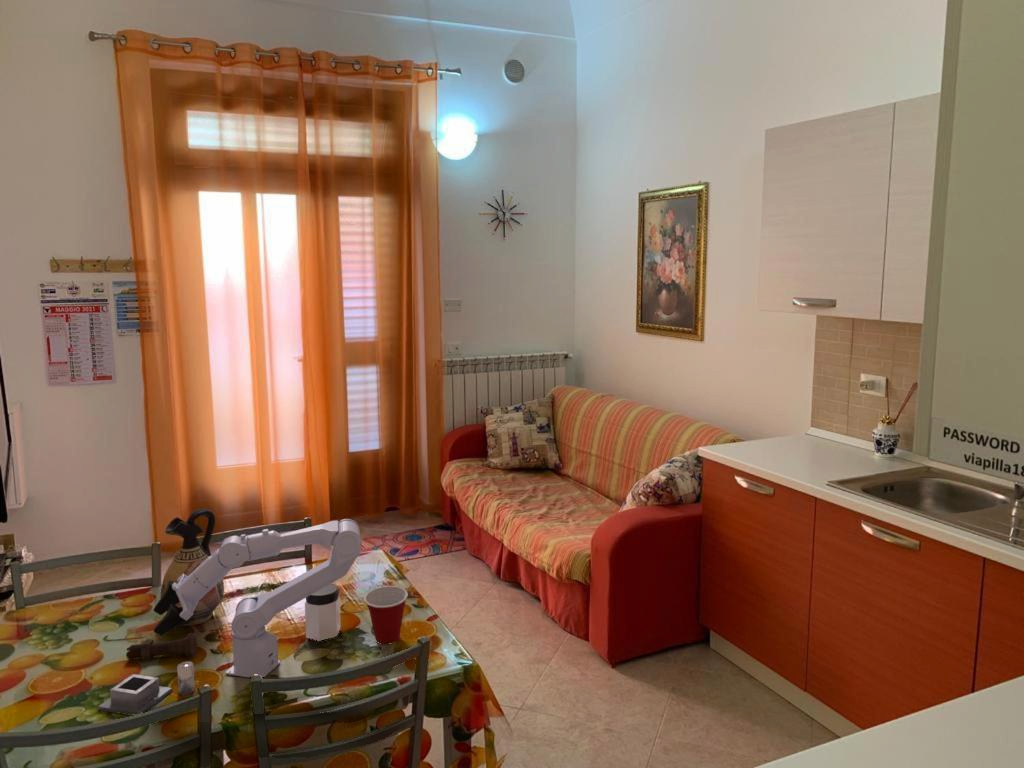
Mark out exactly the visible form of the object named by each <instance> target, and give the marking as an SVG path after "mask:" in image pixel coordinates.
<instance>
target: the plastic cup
mask: <svg viewBox="0 0 1024 768" xmlns="http://www.w3.org/2000/svg"><path fill="white" fill-rule="evenodd" d="M408 596H409V594H408V590H406V589H405V588H404V587H400V586H397V585H385V586H379V587H376V588H373V589H371V590H369V591H368V592H366V594H365V595H364V597H363V599H364V603H365V604H366V605H367V608H368V611H369V615H370V619H371V625H372V630H373V633H374V638H375V641H377V643H378V642H379V643H381V644H380V645H384V644H387V645H390V644H389V643H393V642H395V641H397V640H398V641H399V640H400V636H401V635H400V634H401V629H402V624H403V618H404V617H403V616H404V611H405V607H406V606H405V605H406V602H407V601H406V600H407V598H408ZM398 641H397V642H398ZM379 643H378V644H379ZM395 643H396V642H395ZM393 644H394V643H393Z"/></svg>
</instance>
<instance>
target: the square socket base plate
mask: <svg viewBox="0 0 1024 768" xmlns="http://www.w3.org/2000/svg"><path fill="white" fill-rule="evenodd" d="M172 691H173V689H172V687H168V686H161V685H160V679H159V677H156V676H155V677H153V676H149V675H148V676H147V675H141V674H136V673H135V674H134V673H133V674H131V675H129V676H128V677H126V678H125V679H124V680H122V681H121V682H119V683H118V684H117V685H115V686H113V687H112V688H111V689H110V690H109V693H110V698H108V699H106V700H105V701H104V702H102V703H101V704H99V705H98V706H97V709H98V711H103V712H108V711H109V712H108V713H114V712H120V713H126V714H130V715H129V716H132V715H131V714H139V713H141V712H144V711H146V710H147V709H148V710H150V709H151V708H152V707H153V706H155V705H156V704H158V702H160V701H162V700H163V699H165V698H166V697H167V696H168V695H169V694H170V693H172ZM149 708H150V709H149ZM148 710H147V711H148ZM147 711H146V712H147ZM120 713H119V714H120ZM144 713H145V712H144ZM126 714H125V715H126Z"/></svg>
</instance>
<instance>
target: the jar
mask: <svg viewBox="0 0 1024 768" xmlns="http://www.w3.org/2000/svg"><path fill="white" fill-rule="evenodd" d="M339 594H340V591H339V586H338V585H336V584H334V583H331V584H329V585H328V586H326V587H324V588H322V589H320V590H319V591H317V592H315V593H313V594H312V595H310V596H308V597H306V598H305V603H304V617H305V638H306V639H309V638H310V640H312V639H313V640H312V641H316V640H317V641H316V642H319V641H321V640H324V639H328V638H332V637H335V636H337V635H338V636H339V634H340V632H339V630H340V631H341V629H340V628H341V602H340V601H341V598H340V596H341V595H339ZM338 633H339V634H338ZM338 636H337V637H338ZM321 642H322V641H321Z"/></svg>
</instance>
